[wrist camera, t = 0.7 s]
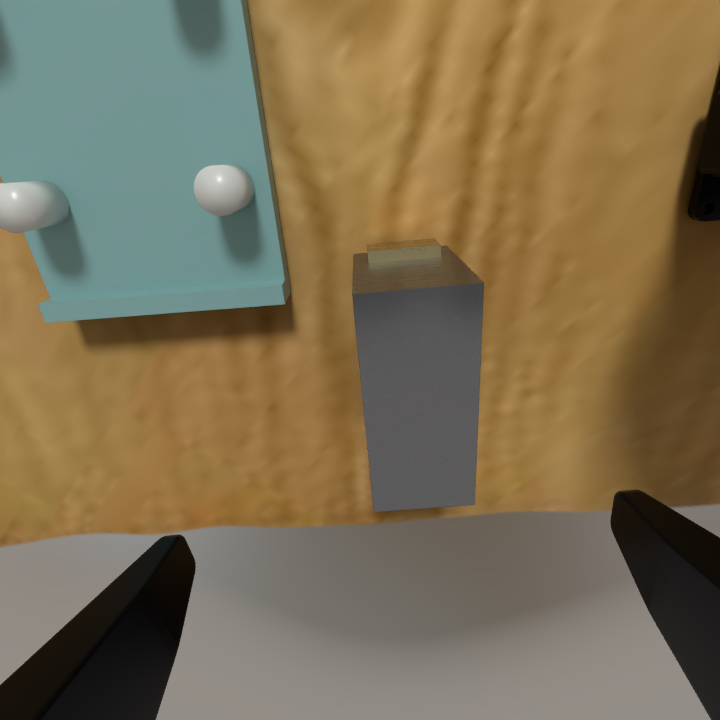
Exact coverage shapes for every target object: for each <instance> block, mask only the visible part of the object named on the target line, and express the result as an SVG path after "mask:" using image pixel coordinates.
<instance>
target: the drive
mask: <svg viewBox="0 0 720 720" xmlns="http://www.w3.org/2000/svg"><path fill="white" fill-rule="evenodd" d="M483 293H484V282H483V281H482V280H481V279H480V278H479V277H478V276H477V275H476V274H475V273H474V272H473V271H472V270H471V269H470V268H469V267H468V266H467V265H466V264H465V263H464V262H463V261H462V260H460V259H459V258H458V257H457V256H456V255H455V254H454V253H453V252H452V251H451V250H450V249H449V248H448V247H447V246H441V245H440V244H439V243H438V242H437V241H436V239H425V240H414V241H403V242H392V243H381V244H370V245H367V253H359V254H354V256H353V290H352V295H353V306H354V316H355V326H356V336H357V346H358V356H359V366H360V376H361V386H362V397H363V407H364V417H365V427H366V437H367V447H368V457H369V467H370V477H371V488H372V498H373V508H374V512H382V511H396V510H410V509H424V508H438V507H452V506H466V505H475V488H476V464H477V439H478V415H479V390H480V366H481V342H482V317H483Z"/></svg>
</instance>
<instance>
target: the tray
mask: <svg viewBox="0 0 720 720" xmlns="http://www.w3.org/2000/svg"><path fill="white" fill-rule="evenodd" d="M0 176H1V179H2V181H3V183H1V184H0V227H1V228H3V229H5V230H7V231H9V232H13V233H23V232H24V235H25V237H26V240H27V242H28V245H29V247H30V249H31V252H32V254H33V257H34V259H35V262H36V264H37V266H38V269H39V271H40V274H41V276H42V279H43V281H44V283H45V286H46V288H47V291H48V293H49V296H50V299H48V300H46V301H44V302H42V303H40V304H38V306H39V308H40V311H41V313H42V315H43V318H44V320H45V322H46V323H49V322H62V321H75V320H88V319H101V318H114V317H127V316H140V315H153V314H166V313H179V312H192V311H205V310H218V309H231V308H244V307H257V306H270V305H283V304H285V303H286V301H287V299H288V297H289V295H290V293H291V288H290V281H289V275H288V268H287V262H286V255H285V249H284V242H283V236H282V229H281V222H280V216H279V209H278V203H277V196H276V190H275V183H274V177H273V170H272V164H271V157H270V150H269V144H268V137H267V131H266V124H265V118H264V111H263V105H262V98H261V91H260V85H259V78H258V72H257V65H256V59H255V52H254V46H253V39H252V33H251V26H250V19H249V13H248V6H247V0H0Z"/></svg>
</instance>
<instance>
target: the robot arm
mask: <svg viewBox="0 0 720 720" xmlns="http://www.w3.org/2000/svg"><path fill="white" fill-rule="evenodd" d="M705 203H707V208H706V210H705V211H704V212H703V213H702V212H701V209H702V207H703V205H704V204H705ZM688 214H689V217H690V218H692V219H693V220H699V221H715V220H720V82H719V86H718V90H717V94H716V96H715V99H714V103H713V107H712V111H711V115H710V120H709V124H708V128H707V132H706V136H705V140H704V144H703V148H702V152H701V156H700V160H699V164H698V171H697V175H696V179H695V183H694V187H693V191H692V195H691V199H690V203H689V207H688ZM611 529H612V532H613V534H614V537H615V538H616V541H617V543H618V545H619V548H620V550H621V552H622V554H623V556H624V559H625V561H626V563H627V565H628V567H629V570H630V572H631V574H632V576H633V578H634V580H635V583H636V585H637V587H638V589H639V592H640V593H641V596H642V598H643V600H644V602H645V604H646V606H647V608H648V610H649V612H650V614H651V616H652V618H653V620H654V621H655V623H656V625H657V627H658V628H659V630H660V632H661V634H662V635H663V637H664V639H665V640H666V642H667V644H668V646H669V647H670V649H671V651H672V653H673V654H674V656H675V657H676V660H677V661H678V663H679V665H680V666H681V668H682V670H683V672H684V673H685V675H686V677H687V679H688V680H689V682H690V684H691V685H692V687H693V689H694V690H695V692H696V694H697V696H698V698H699V699H700V701H701V703H702V705H703V706H704V708H705V710H706V711H707V713H708V715H709V717H710V718H711V720H720V538H719V537H718V536H716V535H714V534H713V533H711V532H709V531H708V530H706V529H704V528H702V527H701V526H699V525H697V524H696V523H694V522H692V521H691V520H689V519H687V518H686V517H684V516H682V515H681V514H679V513H677V512H675V511H674V510H672V509H671V508H669V507H667V506H666V505H664V504H662V503H661V502H659V501H657V500H656V499H654V498H652V497H651V496H649V495H647V494H646V493H644V492H642V491H640V490H626V491H619V492H617V493H616V494H615V496H614V501H613V508H612V514H611ZM195 567H196V566H195V560H194V557H193V555H192V553H191V550H190V548H189V546H188V544H187V542H186V540H185V538H184V537H183V536H181V535H169V536H164V537H162V538H160V539H159V540H158V541H157V542H155V543H154V545H152V546H151V547H150V548H149V549H148V550H147V551H146V552H145V553H144V554H142V555H141V556H140V557H139V558H138V559H137V560H136V561H135V562H134V563H133V564H132V565H130V566H129V567H128V568H127V569H126V570H125V571H124V572H123V573H122V574H121V575H120V576H119V577H118V578H116V579H115V580H114V581H113V582H112V583H111V584H110V585H109V586H108V587H107V588H105V589H104V590H103V591H102V592H101V593H100V594H99V595H98V596H97V597H96V598H95V599H94V600H92V601H91V602H90V603H89V604H88V605H87V606H86V607H85V608H84V609H83V610H81V611H80V612H79V613H78V614H77V615H76V616H75V617H74V618H73V619H72V620H71V621H70V622H68V623H67V624H66V625H65V626H64V627H63V628H62V629H61V630H60V631H59V632H58V633H56V634H55V635H54V636H53V637H52V638H51V639H50V640H49V641H48V642H47V643H46V644H44V645H43V646H42V647H41V648H40V649H39V650H38V651H37V652H36V653H35V654H34V655H33V656H31V657H30V658H29V659H28V660H27V661H26V662H25V663H24V664H23V665H22V666H21V667H20V668H19V669H17V670H16V671H15V672H14V673H13V674H12V675H11V676H10V677H9V678H7V679H6V680H5V681H4V682H3V683H2V684H1V685H0V720H156V717H157V714H158V711H159V707H160V704H161V701H162V698H163V695H164V692H165V689H166V685H167V682H168V679H169V676H170V673H171V670H172V667H173V663H174V660H175V657H176V654H177V650H178V647H179V643H180V638H181V634H182V629H183V625H184V621H185V616H186V611H187V607H188V602H189V598H190V593H191V588H192V584H193V579H194V575H195Z"/></svg>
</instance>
